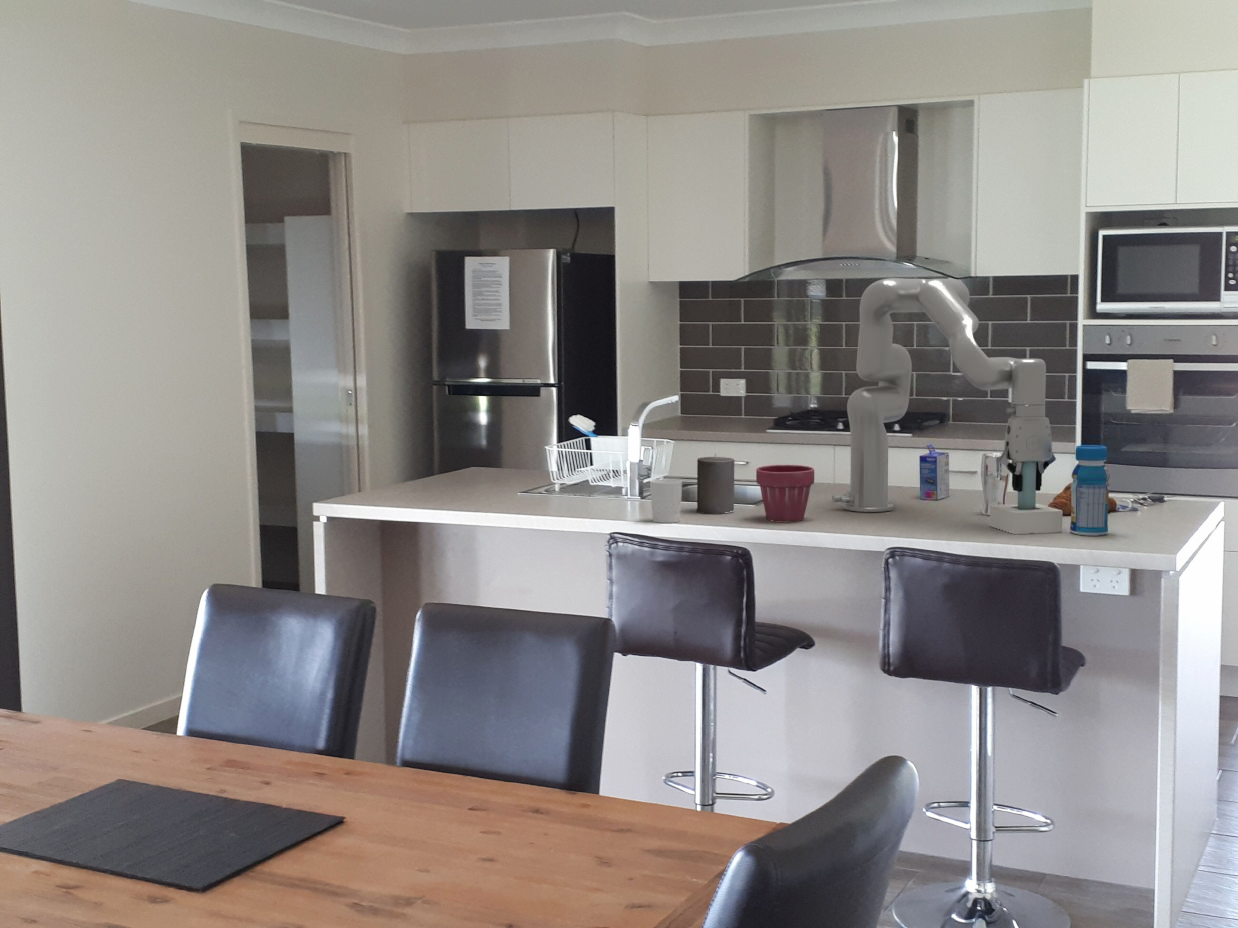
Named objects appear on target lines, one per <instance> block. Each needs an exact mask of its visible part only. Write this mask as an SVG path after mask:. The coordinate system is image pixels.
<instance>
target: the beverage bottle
mask: <svg viewBox="0 0 1238 928" xmlns="http://www.w3.org/2000/svg"><path fill="white" fill-rule="evenodd" d="M1107 460H1108V449H1107V446H1105V445H1095V444H1091V445H1090V444H1082V445H1076V446H1075V461H1076V462H1078V463H1077V464H1076V466H1075V467H1074V468H1073V470H1072V472H1071V478H1072V481H1071V483H1072V484H1071V492H1072V500H1071V516H1070V524H1069V525H1070V526H1069V531H1070V532H1071V534H1074V535H1077V536H1088V537H1099V536H1105V535H1107V534H1108V533H1109V525H1108V521H1109V518H1108V517H1109V515H1108V514H1109V512H1108V497H1110V496H1109V493H1110V492H1111V491H1110V490H1111V486H1110V484H1109V480H1110V478H1111V476H1110V472H1109V470H1108V468H1107V466H1106V464H1104V463H1105V462H1107Z"/></svg>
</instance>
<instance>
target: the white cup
mask: <svg viewBox="0 0 1238 928" xmlns="http://www.w3.org/2000/svg"><path fill="white" fill-rule="evenodd" d="M649 483H650V484H649V485H650V502H651V503H650V504H651V511H652V521H653V522H654V523H659V524H673V523H679V522H681V510H682V497H683V495H682V493H683V480H681V479H675V478H670V479H669V478H662V479H661V478H659V479H653V480H650V481H649Z"/></svg>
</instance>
